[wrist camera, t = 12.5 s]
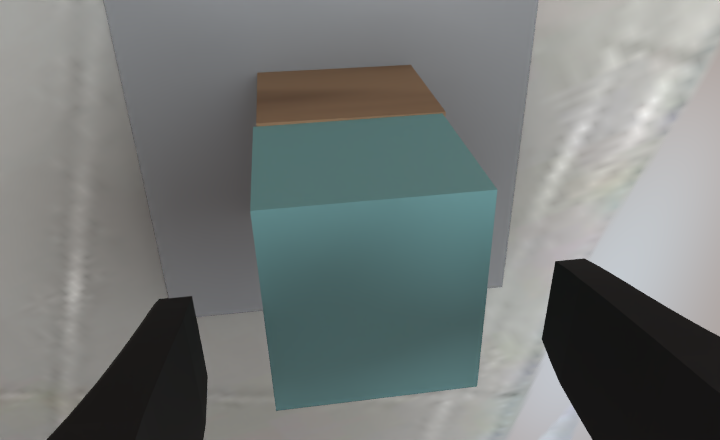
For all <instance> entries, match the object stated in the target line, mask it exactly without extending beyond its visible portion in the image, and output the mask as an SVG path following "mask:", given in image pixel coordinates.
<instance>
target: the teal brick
mask: <svg viewBox="0 0 720 440" xmlns="http://www.w3.org/2000/svg"><path fill="white" fill-rule="evenodd" d="M496 199H497V188H496V187H495V186H494V184H493V183H492V181H491V180H490V179H489V177H488V176H487V174H486V173H485V172H484V170H483V169H482V168H481V166H480V165H479V163H478V162H477V161H476V159H475V158H474V156H473V155H472V154H471V152H470V151H469V150H468V148H467V147H466V145H465V144H464V143H463V141H462V140H461V138H460V137H459V136H458V134H457V133H456V131H455V130H454V129H453V127H452V126H451V125H450V123H449V122H448V120H447V119H446V118H445V116H444V115H443V113H440V114H426V115H412V116H398V117H384V118H370V119H356V120H342V121H328V122H314V123H300V124H286V125H272V126H258V127H253V143H252V172H251V202H250V213H251V221H252V229H253V236H254V244H255V252H256V259H257V267H258V275H259V282H260V290H261V298H262V305H263V313H264V321H265V328H266V336H267V344H268V351H269V359H270V367H271V374H272V382H273V390H274V397H275V405H276V411H278V410H287V409H295V408H303V407H311V406H320V405H328V404H336V403H344V402H352V401H361V400H369V399H377V398H385V397H394V396H402V395H410V394H418V393H426V392H435V391H443V390H451V389H459V388H468V387H476V386H477V381H478V372H479V362H480V352H481V343H482V333H483V324H484V314H485V304H486V295H487V285H488V276H489V266H490V256H491V247H492V237H493V228H494V218H495V208H496Z"/></svg>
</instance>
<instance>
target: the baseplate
mask: <svg viewBox="0 0 720 440" xmlns="http://www.w3.org/2000/svg"><path fill="white" fill-rule="evenodd" d="M103 1H104V5H105V10H106V15H107V19H108V24H109V28H110V33H111V37H112V42H113V46H114V51H115V56H116V60H117V65H118V69H119V74H120V78H121V83H122V88H123V92H124V97H125V101H126V106H127V110H128V115H129V119H130V124H131V129H132V133H133V138H134V142H135V147H136V151H137V156H138V160H139V165H140V170H141V174H142V179H143V183H144V188H145V192H146V197H147V201H148V206H149V211H150V215H151V220H152V224H153V229H154V233H155V238H156V242H157V247H158V252H159V256H160V261H161V265H162V270H163V274H164V279H165V283H166V288H167V293H168V297H169V298H177V297H187V296H192V299H193V304H194V309H195V314H196V317H202V316H212V315H222V314H233V313H243V312H253V311H263V305H262V298H261V290H260V282H259V275H258V267H257V259H256V252H255V244H254V236H253V229H252V221H251V213H250V202H251V172H252V143H253V127H257V126H256V111H257V73H261V72H281V71H300V70H319V69H339V68H358V67H378V66H397V65H411V66H412V67H413V68H414V70H415V71H416V72H417V74H418V75H419V76H420V78H421V79H422V80H423V82H424V83H425V85H426V86H427V87H428V89H429V90H430V91H431V93H432V94H433V95H434V97H435V98H436V99H437V101H438V102H439V103H440V105H441V106H442V108H443V109H444V110H445V112H446V116H445V118H446V119H447V120H448V122H449V123H450V125H451V126H452V127H453V129H454V130H455V131H456V133H457V134H458V136H459V137H460V138H461V140H462V141H463V143H464V144H465V145H466V147H467V148H468V150H469V151H470V152H471V154H472V155H473V156H474V158H475V159H476V161H477V162H478V163H479V165H480V166H481V168H482V169H483V170H484V172H485V173H486V174H487V176H488V177H489V179H490V180H491V181H492V183H493V184H494V186H495V187H496V188H497V199H496V208H495V218H494V228H493V237H492V247H491V256H490V266H489V276H488V285H487V288H496V287H502V284H503V276H504V268H505V260H506V252H507V244H508V237H509V229H510V221H511V213H512V205H513V197H514V189H515V181H516V174H517V166H518V158H519V150H520V142H521V134H522V126H523V118H524V110H525V103H526V95H527V87H528V79H529V71H530V63H531V55H532V47H533V40H534V32H535V24H536V16H537V8H538V0H103Z"/></svg>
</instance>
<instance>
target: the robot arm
mask: <svg viewBox="0 0 720 440" xmlns="http://www.w3.org/2000/svg"><path fill="white" fill-rule="evenodd" d="M542 341H543V343H544V346H545V348H546V351H547V353H548V356H549V359H550V361H551V364H552V366H553V368H554V371H555V373H556V375H557V378H558V380H559V382H560V384H561V386H562V388H563V389H564V391H565V393H566V395H567V397H568V398H569V400H570V402H571V404H572V405H573V407H574V409H575V410H576V412H577V414H578V416H579V417H580V419H581V421H582V422H583V424H584V426H585V427H586V429H587V431H588V433H589V434H590V436H591V438H592V440H720V337H719V336H717V335H716V334H714V333H712V332H710V331H708V330H706V329H704V328H702V327H701V326H699V325H697V324H695V323H693V322H692V321H690V320H688V319H686V318H685V317H683V316H681V315H679V314H678V313H676V312H674V311H672V310H671V309H669V308H667V307H666V306H664V305H662V304H661V303H659V302H657V301H656V300H654V299H652V298H651V297H649V296H647V295H646V294H644V293H642V292H641V291H639V290H637V289H635V288H634V287H633V286H631V285H629V284H628V283H626V282H624V281H623V280H621V279H619V278H618V277H616V276H614V275H613V274H611V273H609V272H608V271H606V270H604V269H603V268H601V267H599V266H597V265H595V264H594V263H592V262H590V261H588V260H586V259H575V260H564V261H556V262H555V267H554V273H553V279H552V284H551V290H550V296H549V301H548V307H547V313H546V319H545V324H544V330H543V336H542ZM206 404H207V371H206V366H205V361H204V355H203V350H202V345H201V340H200V335H199V330H198V324H197V319H196V314H195V309H194V304H193V299H192V296H187V297H177V298H166V299H159V300H158V301H157V302H156V303H155V304H154V305H153V307H152V308H151V310H150V311H149V313H148V314H147V316H146V317H145V318H144V320H143V321H142V323H141V324H140V326H139V327H138V328H137V330H136V331H135V333H134V334H133V336H132V337H131V338H130V340H129V341H128V342H127V344H126V345H125V347H124V348H123V349H122V351H121V352H120V353H119V355H118V356H117V357H116V359H115V360H114V361H113V362H112V364H111V365H110V366H109V368H108V369H107V370H106V372H105V373H104V374H103V375H102V377H101V378H100V379H99V381H98V382H97V383H96V384H95V385H94V387H93V388H92V389H91V390H90V391H89V392H88V394H87V395H86V396H85V397H84V398H83V400H82V401H81V402H80V403H79V404H78V405H77V407H76V408H75V409H74V410H73V411H72V412H71V414H70V415H69V416H68V417H67V418H66V419H65V420H64V421H63V423H62V424H61V425H60V426H59V427H58V428H57V429H56V430H55V431H54V432H53V433H52V434H51V435H50V436H49V438H48V439H47V440H203V438H204V431H205V424H206Z"/></svg>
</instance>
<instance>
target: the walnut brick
mask: <svg viewBox="0 0 720 440" xmlns="http://www.w3.org/2000/svg"><path fill="white" fill-rule="evenodd" d="M440 113H443V115H444V116H446V112H445V110H444V109H443V108H442V106H441V105H440V103H439V102H438V101H437V99H436V98H435V97H434V95H433V94H432V93H431V91H430V90H429V89H428V87H427V86H426V85H425V83H424V82H423V80H422V79H421V78H420V76H419V75H418V74H417V72H416V71H415V70H414V68H413V67H412V66H411V65H397V66H378V67H358V68H339V69H319V70H300V71H281V72H261V73H257V111H256V126H257V127H258V126H272V125H286V124H300V123H314V122H328V121H342V120H356V119H370V118H384V117H398V116H412V115H426V114H440Z"/></svg>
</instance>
